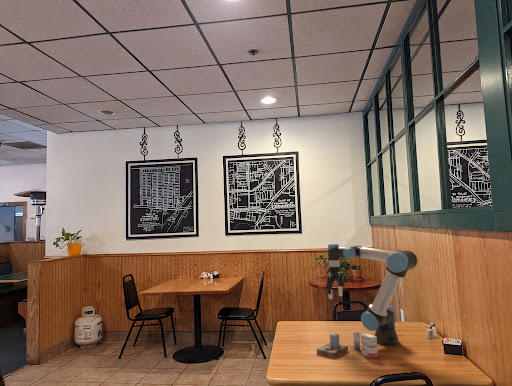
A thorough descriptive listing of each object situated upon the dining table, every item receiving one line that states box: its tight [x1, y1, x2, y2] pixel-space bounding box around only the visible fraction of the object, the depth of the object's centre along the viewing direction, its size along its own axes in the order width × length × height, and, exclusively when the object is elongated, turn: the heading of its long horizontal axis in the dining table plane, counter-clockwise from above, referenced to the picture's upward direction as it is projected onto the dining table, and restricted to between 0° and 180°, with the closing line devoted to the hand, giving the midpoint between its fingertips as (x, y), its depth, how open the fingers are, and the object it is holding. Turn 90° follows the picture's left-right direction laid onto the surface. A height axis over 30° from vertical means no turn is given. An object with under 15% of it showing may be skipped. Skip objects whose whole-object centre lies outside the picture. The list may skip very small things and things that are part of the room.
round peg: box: [353, 331, 361, 351], centre depth 227 cm, size 4×4×10 cm
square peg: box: [329, 332, 340, 348], centre depth 225 cm, size 4×4×10 cm
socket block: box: [316, 342, 349, 359], centre depth 222 cm, size 12×16×3 cm
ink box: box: [360, 333, 379, 360], centre depth 215 cm, size 8×5×12 cm, turn 26°
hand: (335, 297), depth 255 cm, fingers open, 13 cm apart
